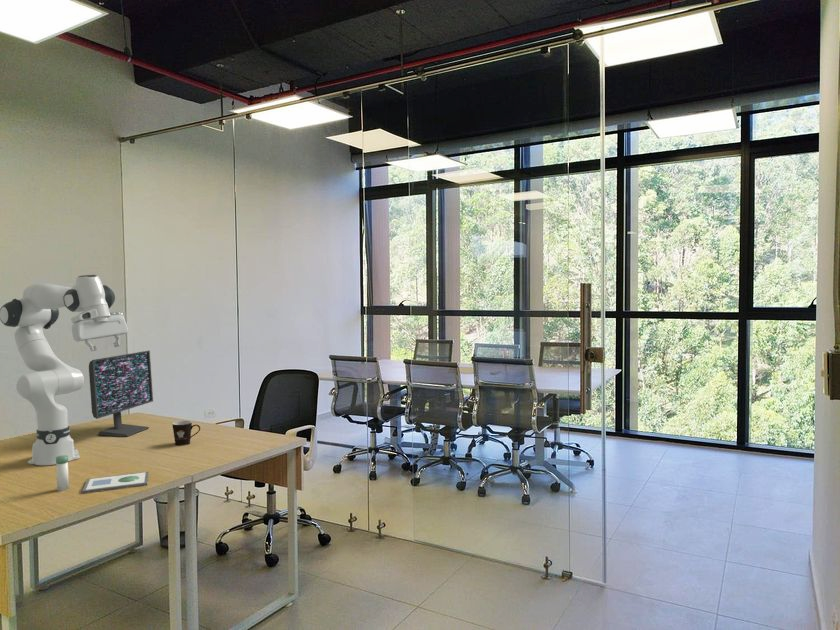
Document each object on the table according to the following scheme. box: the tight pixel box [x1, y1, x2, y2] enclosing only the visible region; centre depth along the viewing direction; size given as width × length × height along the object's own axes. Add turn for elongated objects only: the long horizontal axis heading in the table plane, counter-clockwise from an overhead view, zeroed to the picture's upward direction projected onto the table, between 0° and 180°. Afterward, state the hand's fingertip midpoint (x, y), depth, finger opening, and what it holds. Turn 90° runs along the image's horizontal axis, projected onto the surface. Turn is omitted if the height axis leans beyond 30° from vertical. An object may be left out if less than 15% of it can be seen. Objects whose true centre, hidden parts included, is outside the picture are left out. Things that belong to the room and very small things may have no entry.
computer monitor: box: [88, 350, 154, 438], centre depth 294 cm, size 44×16×40 cm, turn 171°
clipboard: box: [81, 471, 149, 494], centre depth 216 cm, size 15×21×1 cm
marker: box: [55, 455, 70, 492], centre depth 209 cm, size 4×4×12 cm
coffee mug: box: [172, 420, 201, 447], centre depth 271 cm, size 12×9×10 cm
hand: (105, 348), depth 225 cm, fingers open, 8 cm apart
